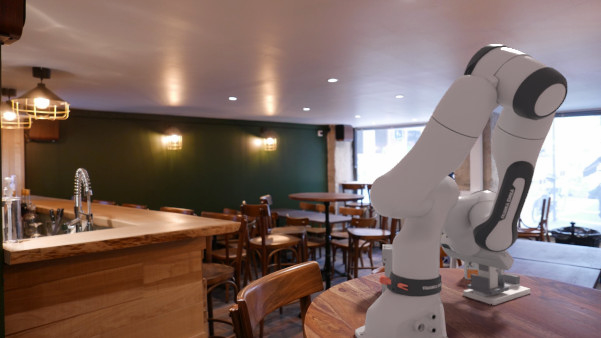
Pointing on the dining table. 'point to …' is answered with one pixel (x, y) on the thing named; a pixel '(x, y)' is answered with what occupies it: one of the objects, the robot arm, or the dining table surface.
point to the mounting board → (499, 295)
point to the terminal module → (489, 274)
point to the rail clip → (504, 284)
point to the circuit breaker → (387, 261)
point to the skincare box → (470, 271)
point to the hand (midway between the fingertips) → (486, 268)
